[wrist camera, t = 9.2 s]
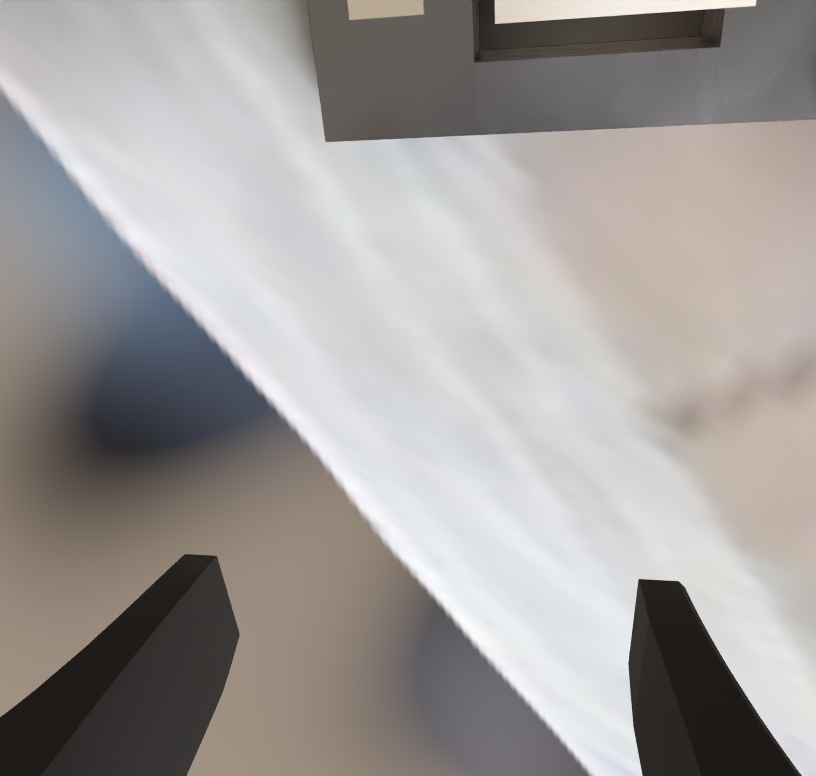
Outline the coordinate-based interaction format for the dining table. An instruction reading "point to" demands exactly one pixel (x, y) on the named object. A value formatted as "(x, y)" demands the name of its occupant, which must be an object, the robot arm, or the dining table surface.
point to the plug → (599, 8)
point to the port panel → (552, 73)
